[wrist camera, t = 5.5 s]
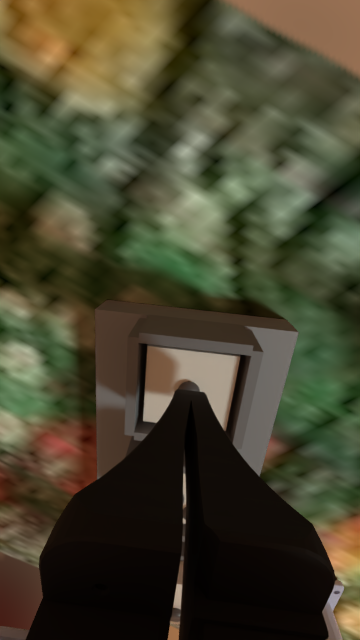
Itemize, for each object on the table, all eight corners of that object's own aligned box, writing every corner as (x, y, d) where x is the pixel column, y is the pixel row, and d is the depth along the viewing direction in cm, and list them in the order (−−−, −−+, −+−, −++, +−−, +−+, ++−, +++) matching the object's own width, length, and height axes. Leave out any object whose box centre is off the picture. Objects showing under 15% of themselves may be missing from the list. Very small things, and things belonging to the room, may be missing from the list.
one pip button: (222, 408, 15) (226, 433, 14) (148, 399, 16) (142, 423, 14) (234, 341, 14) (241, 358, 12) (153, 331, 14) (146, 347, 12)
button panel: (230, 544, 23) (237, 619, 18) (106, 528, 23) (85, 597, 19) (286, 318, 16) (320, 353, 11) (106, 298, 16) (73, 325, 12)
